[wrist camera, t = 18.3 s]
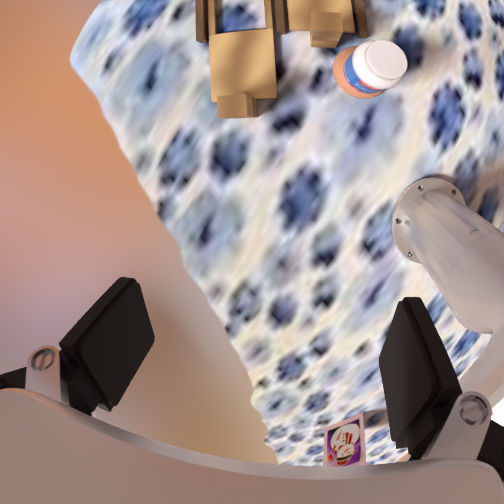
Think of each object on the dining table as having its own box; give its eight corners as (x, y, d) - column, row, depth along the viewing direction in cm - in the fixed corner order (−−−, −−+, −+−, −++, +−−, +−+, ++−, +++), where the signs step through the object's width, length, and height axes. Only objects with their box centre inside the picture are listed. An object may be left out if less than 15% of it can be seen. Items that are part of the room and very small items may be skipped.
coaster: (385, 51, 25) (386, 50, 24) (388, 101, 28) (389, 101, 27) (331, 45, 26) (331, 44, 26) (334, 96, 29) (334, 95, 29)
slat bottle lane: (269, -19, 22) (261, -44, 16) (277, 116, 31) (272, 115, 25) (209, -12, 24) (191, -33, 18) (214, 120, 33) (195, 120, 27)
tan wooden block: (347, -9, 21) (355, -32, 15) (355, 49, 26) (367, 34, 19) (285, -12, 23) (281, -36, 17) (290, 46, 27) (287, 30, 21)
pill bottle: (346, 95, 28) (363, 85, 20) (338, 54, 26) (352, 32, 17) (388, 94, 27) (418, 87, 18) (380, 54, 25) (407, 35, 16)
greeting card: (361, 410, 54) (363, 465, 41) (375, 420, 56) (379, 470, 42) (322, 426, 59) (320, 477, 46) (338, 434, 60) (337, 482, 47)
